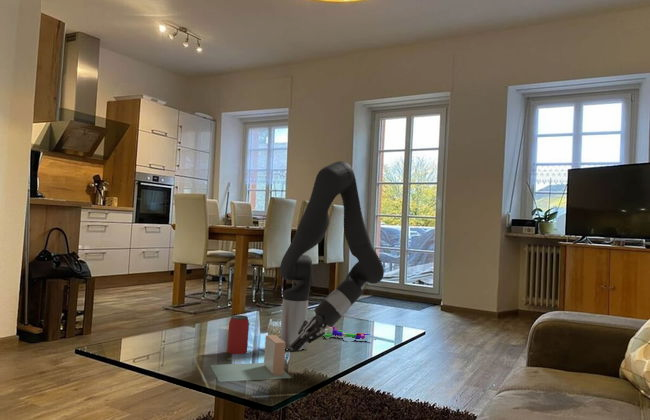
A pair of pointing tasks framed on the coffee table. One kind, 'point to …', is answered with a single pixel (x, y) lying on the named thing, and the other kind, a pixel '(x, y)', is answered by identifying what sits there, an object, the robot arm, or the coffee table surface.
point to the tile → (274, 354)
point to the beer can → (238, 335)
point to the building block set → (342, 333)
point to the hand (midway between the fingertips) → (292, 349)
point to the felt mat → (244, 372)
